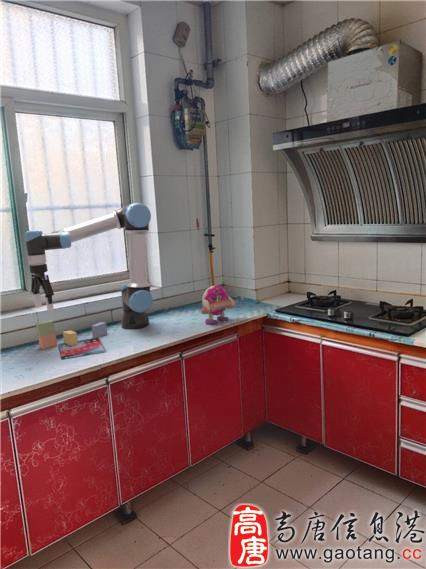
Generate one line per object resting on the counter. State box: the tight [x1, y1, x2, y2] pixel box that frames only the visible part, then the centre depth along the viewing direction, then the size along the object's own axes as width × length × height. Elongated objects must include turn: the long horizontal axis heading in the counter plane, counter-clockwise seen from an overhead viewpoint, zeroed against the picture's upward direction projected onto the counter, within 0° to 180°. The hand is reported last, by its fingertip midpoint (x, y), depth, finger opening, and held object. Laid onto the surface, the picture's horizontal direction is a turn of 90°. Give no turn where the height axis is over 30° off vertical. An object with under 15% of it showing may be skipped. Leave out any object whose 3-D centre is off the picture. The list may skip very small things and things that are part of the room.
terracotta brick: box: [37, 332, 58, 350], centre depth 208 cm, size 7×4×6 cm, turn 134°
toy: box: [200, 284, 238, 326], centre depth 232 cm, size 25×9×20 cm, turn 129°
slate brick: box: [90, 321, 108, 338], centre depth 221 cm, size 7×4×6 cm, turn 154°
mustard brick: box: [62, 330, 79, 346], centre depth 209 cm, size 7×4×6 cm, turn 44°
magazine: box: [57, 337, 107, 361], centre depth 202 cm, size 19×25×1 cm
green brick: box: [34, 319, 56, 337], centre depth 206 cm, size 7×4×6 cm, turn 134°
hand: (44, 309), depth 205 cm, fingers open, 13 cm apart
